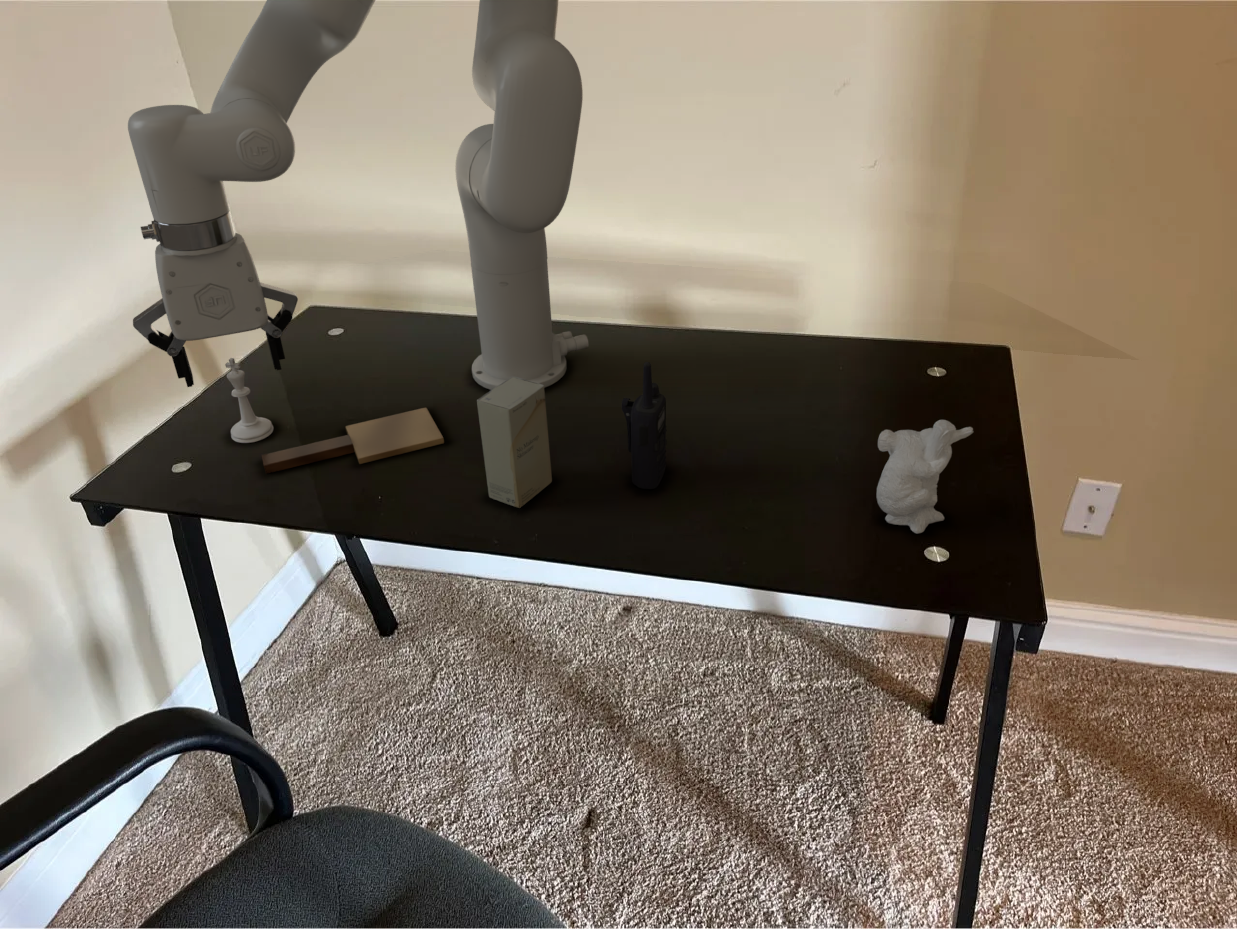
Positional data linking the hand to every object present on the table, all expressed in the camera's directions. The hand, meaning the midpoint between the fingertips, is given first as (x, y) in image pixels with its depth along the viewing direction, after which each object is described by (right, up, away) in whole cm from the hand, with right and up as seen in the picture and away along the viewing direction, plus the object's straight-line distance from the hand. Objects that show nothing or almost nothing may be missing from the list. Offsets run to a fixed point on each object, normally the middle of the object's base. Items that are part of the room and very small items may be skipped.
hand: (234, 373), depth 107 cm
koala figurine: (+75, -16, -13) cm, 78 cm away
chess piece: (0, -7, +5) cm, 8 cm away
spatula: (+13, -9, +1) cm, 16 cm away
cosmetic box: (+34, -14, -7) cm, 37 cm away
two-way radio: (+48, -12, -5) cm, 50 cm away
